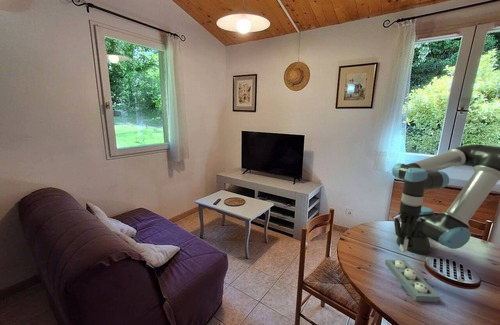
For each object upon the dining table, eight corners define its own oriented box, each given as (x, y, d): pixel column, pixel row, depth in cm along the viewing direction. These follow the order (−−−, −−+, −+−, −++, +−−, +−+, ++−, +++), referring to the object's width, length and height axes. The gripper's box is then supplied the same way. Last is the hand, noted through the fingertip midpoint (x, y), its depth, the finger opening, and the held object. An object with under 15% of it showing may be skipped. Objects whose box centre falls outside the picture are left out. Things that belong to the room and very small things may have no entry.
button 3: (421, 288, 93) (423, 281, 93) (429, 296, 89) (430, 289, 89) (411, 288, 94) (412, 281, 93) (418, 296, 90) (419, 289, 89)
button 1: (401, 266, 107) (402, 260, 106) (406, 272, 103) (408, 266, 102) (392, 265, 107) (393, 259, 107) (397, 271, 103) (398, 265, 102)
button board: (403, 264, 109) (404, 260, 108) (438, 301, 88) (439, 296, 87) (384, 263, 109) (385, 259, 109) (415, 300, 88) (416, 295, 87)
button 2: (411, 274, 100) (412, 268, 99) (417, 281, 96) (418, 275, 95) (401, 274, 100) (402, 268, 99) (407, 281, 96) (408, 274, 95)
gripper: (420, 199, 101) (411, 245, 106) (391, 199, 102) (384, 245, 107) (432, 206, 94) (423, 255, 99) (401, 206, 94) (393, 255, 100)
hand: (402, 250), depth 103 cm, fingers closed
